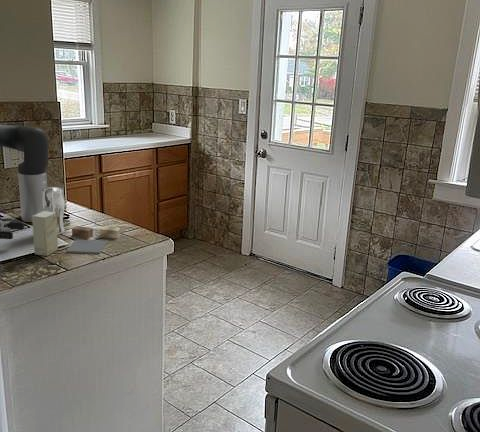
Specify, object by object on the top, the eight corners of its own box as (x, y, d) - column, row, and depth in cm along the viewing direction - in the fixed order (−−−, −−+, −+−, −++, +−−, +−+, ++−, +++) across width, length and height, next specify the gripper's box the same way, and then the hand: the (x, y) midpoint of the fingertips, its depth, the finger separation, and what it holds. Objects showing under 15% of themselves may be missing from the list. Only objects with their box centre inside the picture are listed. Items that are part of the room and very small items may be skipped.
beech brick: (100, 237, 163) (100, 229, 162) (103, 234, 165) (103, 226, 165) (117, 239, 162) (117, 230, 161) (120, 236, 165) (120, 227, 164)
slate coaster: (75, 241, 157) (75, 239, 157) (106, 242, 158) (106, 240, 158) (66, 252, 148) (66, 250, 148) (99, 253, 149) (99, 252, 148)
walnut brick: (72, 237, 161) (71, 228, 161) (76, 234, 164) (76, 225, 163) (88, 239, 160) (88, 230, 159) (93, 236, 163) (92, 228, 162)
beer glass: (55, 227, 169) (53, 185, 164) (70, 231, 166) (68, 188, 162) (39, 232, 163) (36, 189, 158) (54, 236, 160) (52, 193, 156)
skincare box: (47, 256, 144) (44, 217, 141) (33, 254, 145) (31, 216, 141) (58, 249, 150) (56, 211, 146) (45, 247, 151) (43, 210, 147)
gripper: (-52, 223, 136) (7, 226, 137) (-28, 209, 150) (26, 211, 151) (-49, 248, 138) (9, 250, 139) (-25, 232, 152) (27, 234, 153)
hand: (18, 230), depth 145 cm, fingers open, 8 cm apart
